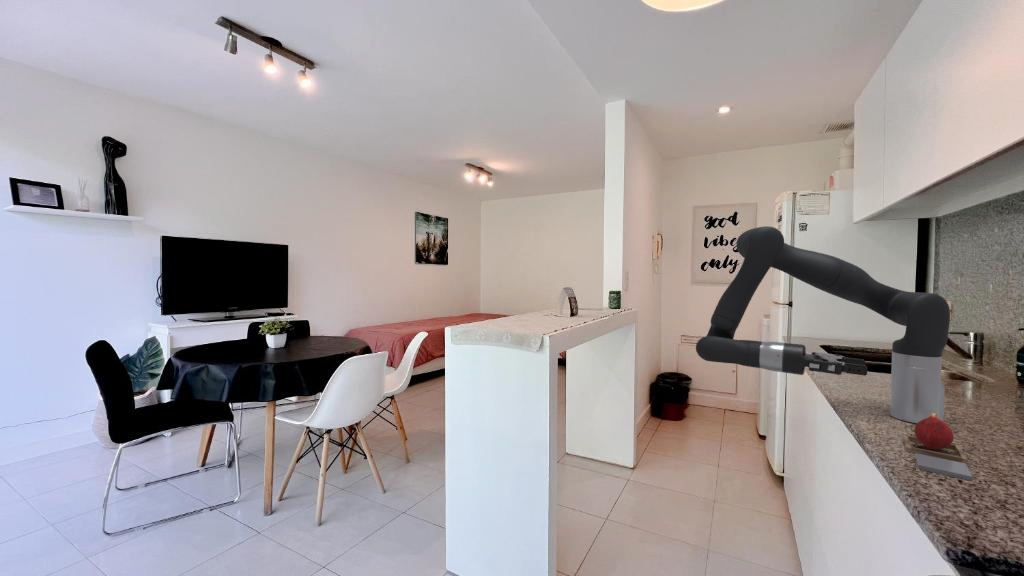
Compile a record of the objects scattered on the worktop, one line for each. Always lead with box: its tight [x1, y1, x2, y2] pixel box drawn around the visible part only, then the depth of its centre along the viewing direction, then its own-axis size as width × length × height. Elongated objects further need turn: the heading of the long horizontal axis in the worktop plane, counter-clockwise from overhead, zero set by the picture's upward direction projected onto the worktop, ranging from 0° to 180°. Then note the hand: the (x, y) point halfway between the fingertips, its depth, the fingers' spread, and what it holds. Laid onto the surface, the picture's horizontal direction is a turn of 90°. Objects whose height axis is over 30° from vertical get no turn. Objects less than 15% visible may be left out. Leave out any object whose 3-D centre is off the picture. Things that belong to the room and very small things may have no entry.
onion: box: [913, 413, 954, 452], centre depth 87 cm, size 6×6×8 cm
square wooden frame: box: [902, 434, 969, 465], centre depth 87 cm, size 9×9×1 cm
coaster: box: [914, 453, 974, 482], centre depth 79 cm, size 7×7×1 cm
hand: (866, 367), depth 93 cm, fingers open, 8 cm apart
